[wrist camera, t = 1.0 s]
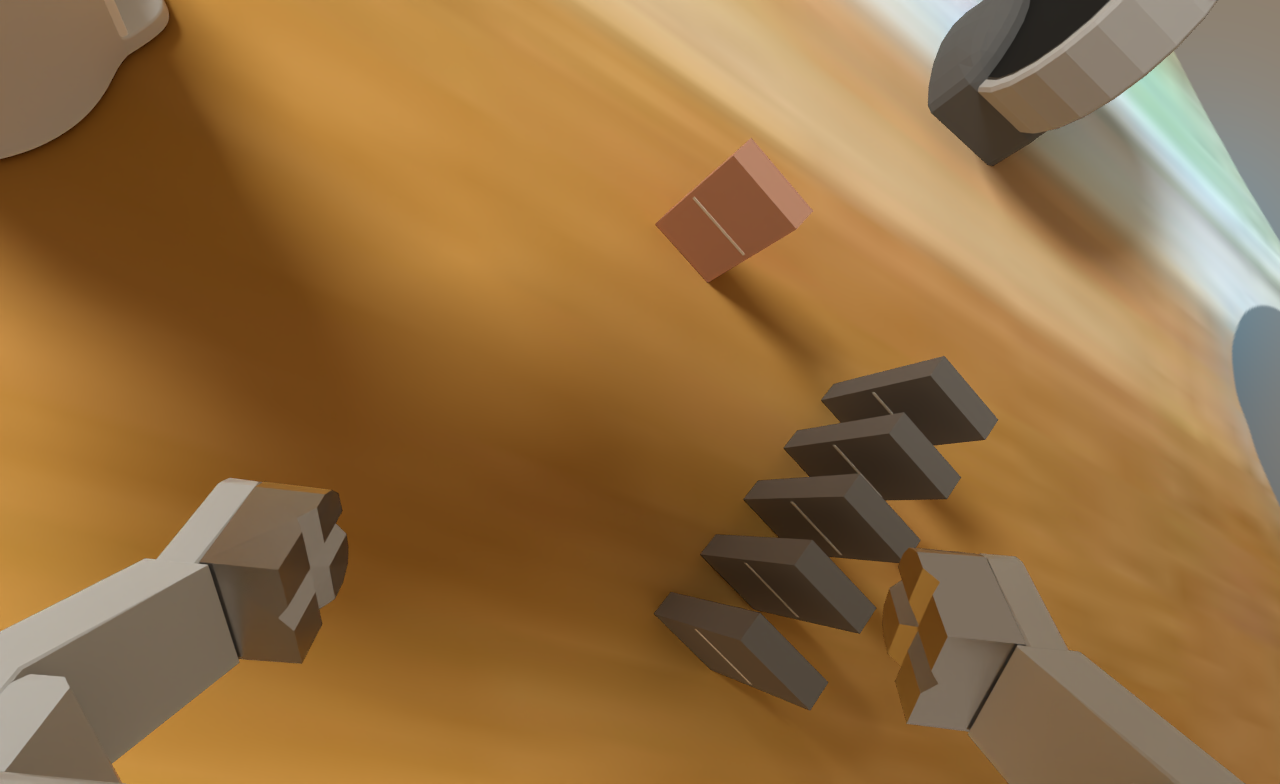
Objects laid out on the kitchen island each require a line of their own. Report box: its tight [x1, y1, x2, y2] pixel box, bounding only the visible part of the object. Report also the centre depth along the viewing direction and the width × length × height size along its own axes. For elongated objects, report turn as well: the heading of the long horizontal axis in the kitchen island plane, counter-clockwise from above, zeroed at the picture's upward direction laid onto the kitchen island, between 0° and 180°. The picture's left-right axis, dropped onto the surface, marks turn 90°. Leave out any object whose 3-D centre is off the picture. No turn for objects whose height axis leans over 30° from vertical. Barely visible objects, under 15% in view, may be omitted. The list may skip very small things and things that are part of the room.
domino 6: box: [654, 592, 828, 710], centre depth 40 cm, size 2×5×10 cm, turn 47°
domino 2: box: [821, 356, 998, 445], centre depth 46 cm, size 2×5×10 cm, turn 47°
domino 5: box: [700, 534, 876, 634], centre depth 41 cm, size 2×5×10 cm, turn 47°
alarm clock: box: [928, 0, 1218, 166], centre depth 53 cm, size 16×10×18 cm, turn 149°
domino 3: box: [784, 412, 961, 500], centre depth 45 cm, size 2×5×10 cm, turn 47°
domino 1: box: [655, 138, 813, 283], centre depth 44 cm, size 2×5×10 cm, turn 47°
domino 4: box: [744, 474, 920, 563], centre depth 43 cm, size 2×5×10 cm, turn 47°
